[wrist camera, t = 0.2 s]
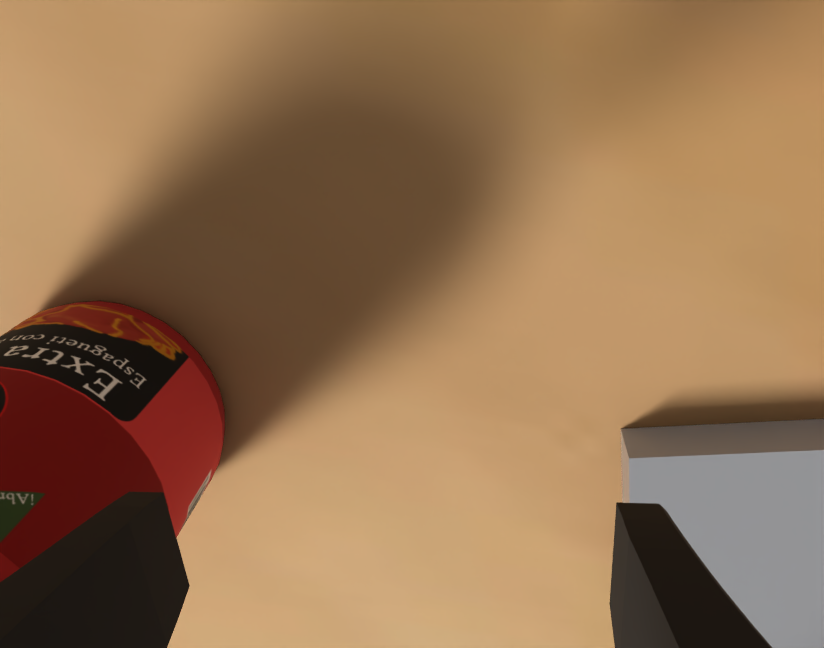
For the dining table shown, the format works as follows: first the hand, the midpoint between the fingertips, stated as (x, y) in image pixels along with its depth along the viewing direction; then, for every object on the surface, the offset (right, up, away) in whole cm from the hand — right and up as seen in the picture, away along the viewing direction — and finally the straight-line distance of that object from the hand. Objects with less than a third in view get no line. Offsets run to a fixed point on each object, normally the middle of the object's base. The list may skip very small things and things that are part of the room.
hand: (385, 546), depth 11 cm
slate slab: (+11, -3, +11) cm, 16 cm away
